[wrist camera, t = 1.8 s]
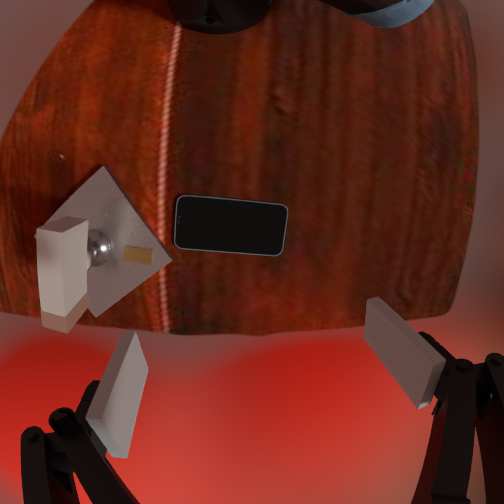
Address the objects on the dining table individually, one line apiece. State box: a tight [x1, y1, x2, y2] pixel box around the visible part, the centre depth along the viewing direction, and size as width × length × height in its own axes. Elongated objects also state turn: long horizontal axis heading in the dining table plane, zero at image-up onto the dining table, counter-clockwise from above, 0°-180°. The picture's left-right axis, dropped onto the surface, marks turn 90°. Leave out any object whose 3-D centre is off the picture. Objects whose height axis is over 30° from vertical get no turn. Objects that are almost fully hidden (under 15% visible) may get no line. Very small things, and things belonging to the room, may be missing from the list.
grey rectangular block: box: [37, 216, 91, 334], centre depth 28 cm, size 11×3×8 cm, turn 169°
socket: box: [34, 165, 174, 317], centre depth 35 cm, size 16×16×6 cm
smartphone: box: [174, 195, 288, 256], centre depth 40 cm, size 7×1×15 cm
